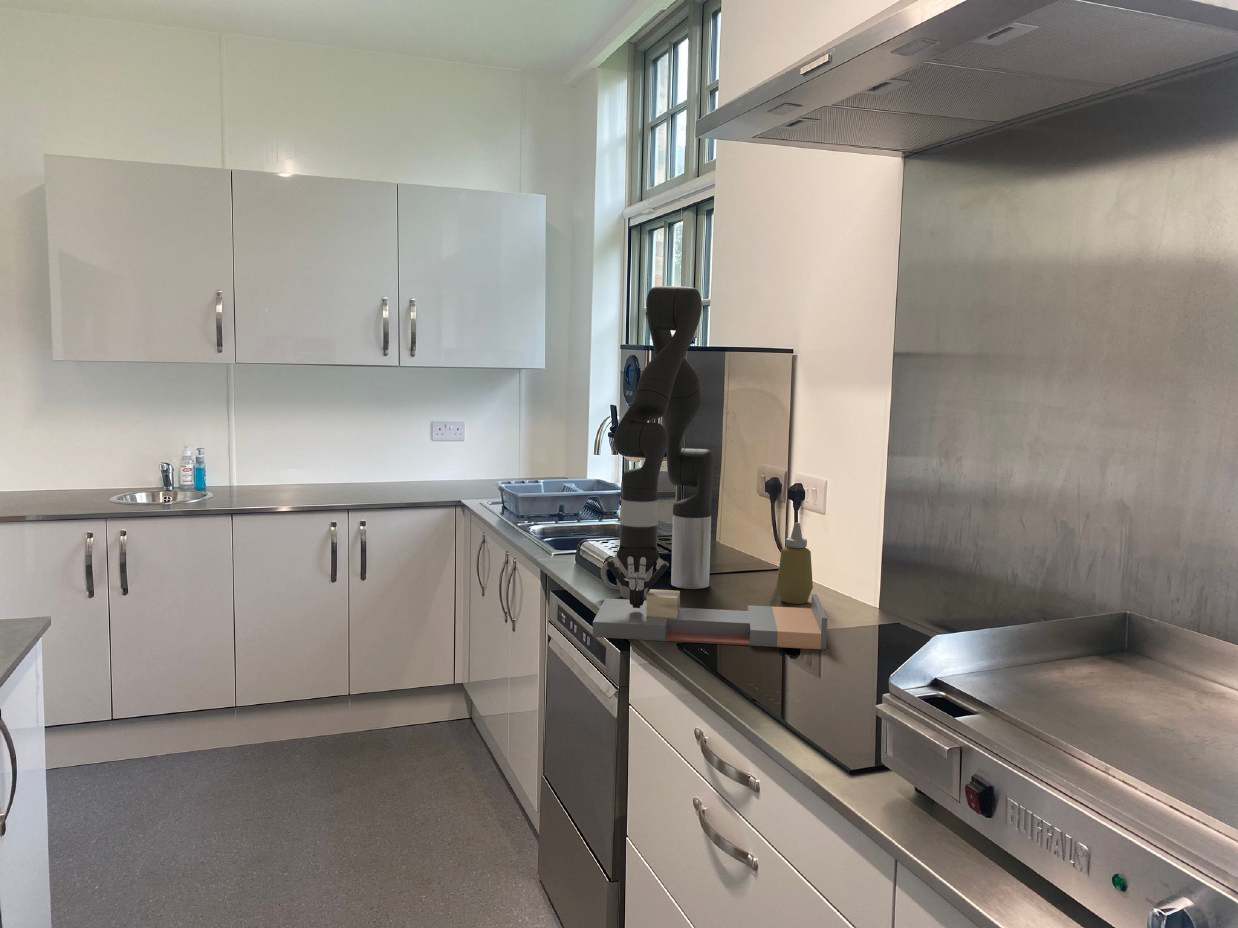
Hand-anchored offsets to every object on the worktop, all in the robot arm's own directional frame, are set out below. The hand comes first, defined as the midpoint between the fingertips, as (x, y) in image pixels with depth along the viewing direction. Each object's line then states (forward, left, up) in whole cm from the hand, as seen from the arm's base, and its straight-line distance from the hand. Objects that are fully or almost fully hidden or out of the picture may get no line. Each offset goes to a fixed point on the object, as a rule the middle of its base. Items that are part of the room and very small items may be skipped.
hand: (636, 606), depth 173 cm
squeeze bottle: (-26, +33, -4) cm, 43 cm away
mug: (-23, -5, -4) cm, 24 cm away
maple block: (0, +5, -1) cm, 5 cm away
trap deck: (0, +14, -4) cm, 15 cm away
